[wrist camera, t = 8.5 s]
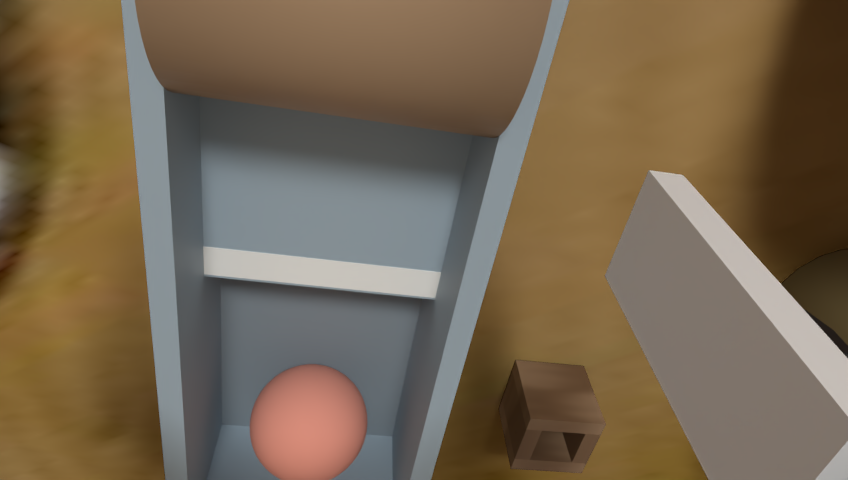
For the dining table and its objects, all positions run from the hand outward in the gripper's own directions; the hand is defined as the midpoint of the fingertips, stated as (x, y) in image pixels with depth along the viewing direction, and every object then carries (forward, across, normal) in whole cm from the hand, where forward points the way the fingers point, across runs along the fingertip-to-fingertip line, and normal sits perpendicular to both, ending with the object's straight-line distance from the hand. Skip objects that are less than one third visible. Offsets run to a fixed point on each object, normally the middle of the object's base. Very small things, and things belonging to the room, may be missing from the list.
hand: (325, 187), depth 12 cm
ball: (+7, 0, +15) cm, 17 cm away
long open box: (+10, 0, +6) cm, 12 cm away
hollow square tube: (+10, -11, +15) cm, 21 cm away
